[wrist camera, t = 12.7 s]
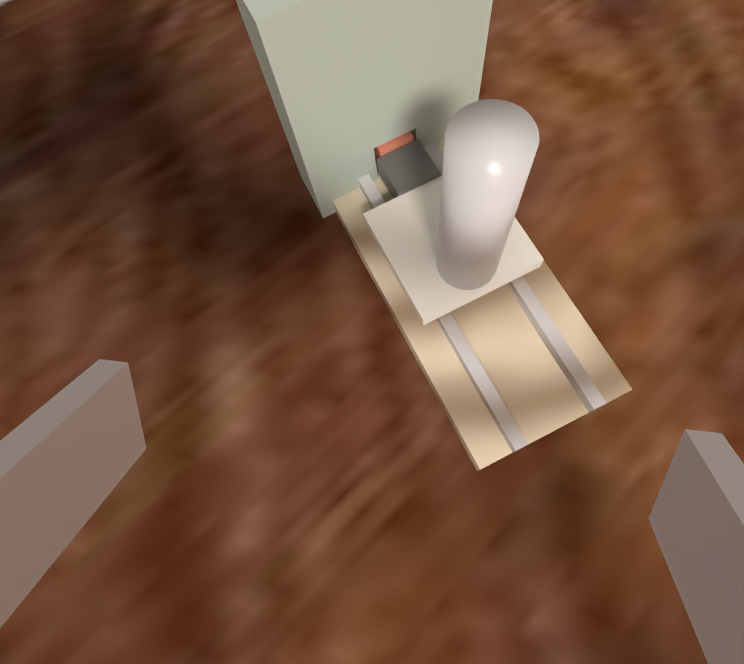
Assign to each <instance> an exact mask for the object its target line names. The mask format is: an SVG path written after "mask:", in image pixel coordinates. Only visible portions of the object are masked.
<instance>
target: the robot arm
mask: <svg viewBox="0 0 744 664" xmlns="http://www.w3.org/2000/svg"><path fill="white" fill-rule="evenodd" d="M145 450H146V444H145V440H144V435H143V430H142V426H141V421H140V416H139V412H138V407H137V402H136V398H135V393H134V388H133V384H132V379H131V374H130V370H129V365H128V363H127V362H119V361H111V360H102V359H99V360H98V361H97V362H95V363H94V364H93V365H92V366H91V367H89V368H88V369H87V370H86V371H85V372H83V373H82V374H81V375H80V376H78V377H77V378H76V379H75V380H74V381H72V382H71V383H70V384H69V385H67V386H66V387H65V388H64V389H63V390H61V391H60V392H59V393H58V394H57V395H55V396H54V397H53V398H52V399H50V400H49V401H48V402H47V403H46V404H44V405H43V406H42V407H41V408H40V409H38V410H37V411H36V412H35V413H33V414H32V415H31V416H30V417H29V418H27V419H26V420H25V421H24V422H23V423H21V424H20V425H19V426H18V427H16V428H15V429H14V430H13V431H12V432H10V433H9V434H8V435H7V436H5V437H4V438H3V439H2V440H1V441H0V628H1V627H2V625H3V624H4V623H5V622H6V620H7V619H8V618H9V617H10V615H11V614H12V613H13V612H14V611H15V609H16V608H17V607H18V606H19V604H20V603H21V602H22V601H23V600H24V598H25V597H26V596H27V595H28V593H29V592H30V591H31V590H32V588H33V587H34V586H35V585H36V584H37V582H38V581H39V580H40V579H41V577H42V576H43V575H44V574H45V572H46V571H47V570H48V569H49V568H50V566H51V565H52V564H53V563H54V561H55V560H56V559H57V558H58V556H59V555H60V554H61V553H62V552H63V550H64V549H65V548H66V547H67V545H68V544H69V543H70V542H71V541H72V539H73V538H74V537H75V536H76V534H77V533H78V532H79V531H80V529H81V528H82V527H83V526H84V525H85V523H86V522H87V521H88V520H89V518H90V517H91V516H92V515H93V513H94V512H95V511H96V510H97V509H98V507H99V506H100V505H101V504H102V502H103V501H104V500H105V499H106V497H107V496H108V495H109V494H110V493H111V491H112V490H113V489H114V488H115V486H116V485H117V484H118V483H119V481H120V480H121V479H122V478H123V477H124V475H125V474H126V473H127V472H128V470H129V469H130V468H131V467H132V466H133V464H134V463H135V462H136V461H137V459H138V458H139V457H140V456H141V454H142V453H143V452H144V451H145ZM648 519H649V521H650V523H651V526H652V528H653V531H654V533H655V536H656V538H657V541H658V543H659V545H660V548H661V550H662V553H663V555H664V558H665V560H666V562H667V565H668V567H669V570H670V572H671V575H672V577H673V579H674V582H675V584H676V587H677V589H678V592H679V594H680V596H681V599H682V601H683V604H684V606H685V609H686V611H687V613H688V616H689V618H690V621H691V623H692V626H693V628H694V630H695V633H696V635H697V638H698V640H699V643H700V645H701V648H702V650H703V652H704V655H705V657H706V660H707V662H708V664H744V464H743V463H742V461H741V460H740V459H739V457H738V456H737V454H736V453H735V451H734V450H733V449H732V447H731V446H730V444H729V443H728V441H727V440H726V439H725V437H724V436H723V434H721V433H713V432H705V431H696V430H688V429H685V430H684V432H683V435H682V437H681V440H680V442H679V445H678V447H677V450H676V452H675V455H674V457H673V459H672V462H671V464H670V467H669V469H668V472H667V474H666V477H665V479H664V482H663V484H662V486H661V489H660V491H659V494H658V496H657V499H656V501H655V504H654V506H653V509H652V511H651V513H650V516H649V518H648Z"/></svg>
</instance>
